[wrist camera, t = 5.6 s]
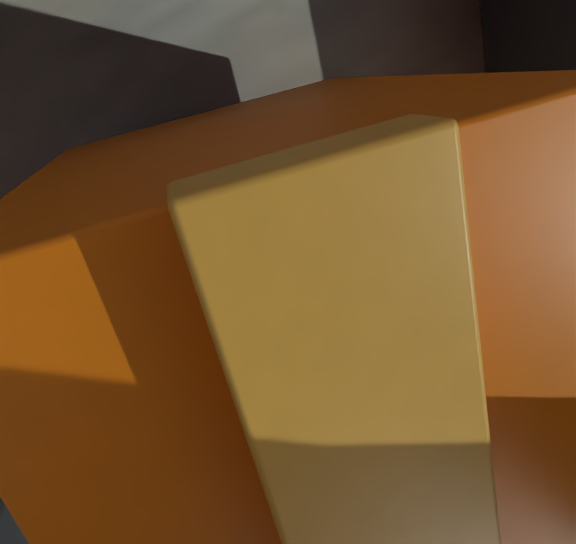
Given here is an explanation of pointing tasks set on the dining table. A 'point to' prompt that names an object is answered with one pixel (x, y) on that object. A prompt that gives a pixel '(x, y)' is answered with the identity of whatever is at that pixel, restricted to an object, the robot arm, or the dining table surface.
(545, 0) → the rectangular frame
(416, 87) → the orange striped block
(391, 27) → the dining table surface
